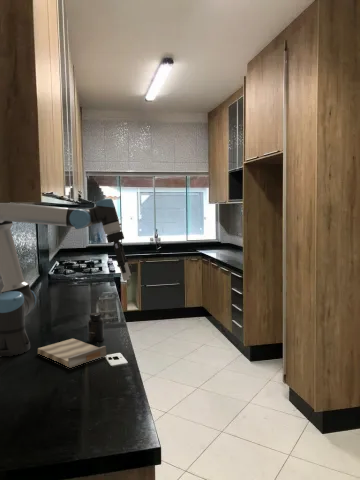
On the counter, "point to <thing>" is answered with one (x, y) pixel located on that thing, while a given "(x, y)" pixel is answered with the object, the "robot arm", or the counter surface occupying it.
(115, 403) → the counter surface
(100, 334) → the supplement bottle
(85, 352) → the shelf board
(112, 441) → the counter surface
